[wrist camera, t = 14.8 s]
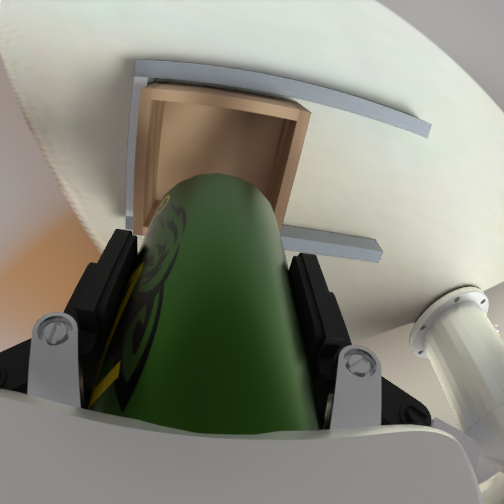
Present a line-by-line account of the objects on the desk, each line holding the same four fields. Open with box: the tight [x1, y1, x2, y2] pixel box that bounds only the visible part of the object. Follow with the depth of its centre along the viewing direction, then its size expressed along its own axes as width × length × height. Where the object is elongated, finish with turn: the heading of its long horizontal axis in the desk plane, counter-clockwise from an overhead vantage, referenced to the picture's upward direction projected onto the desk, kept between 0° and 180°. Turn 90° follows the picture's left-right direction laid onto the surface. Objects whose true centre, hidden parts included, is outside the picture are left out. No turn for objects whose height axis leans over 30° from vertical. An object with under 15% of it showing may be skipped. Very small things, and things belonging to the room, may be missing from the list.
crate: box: [133, 81, 311, 236], centre depth 22 cm, size 10×10×5 cm
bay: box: [126, 60, 432, 263], centre depth 24 cm, size 22×13×2 cm, turn 79°
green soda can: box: [87, 173, 323, 435], centre depth 10 cm, size 5×5×12 cm
